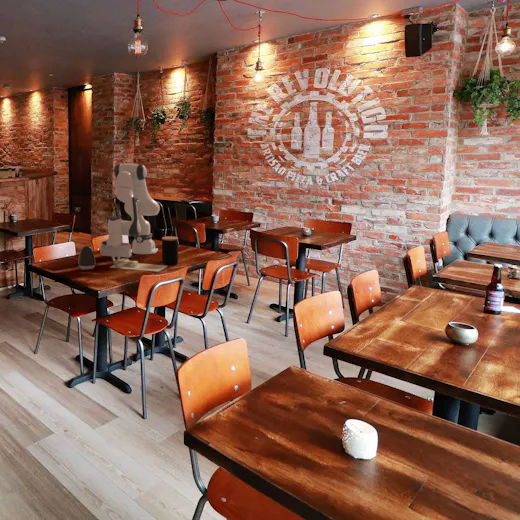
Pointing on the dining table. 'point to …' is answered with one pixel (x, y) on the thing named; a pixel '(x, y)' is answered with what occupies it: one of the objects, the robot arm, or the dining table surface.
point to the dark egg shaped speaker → (86, 258)
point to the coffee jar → (170, 250)
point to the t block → (126, 263)
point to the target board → (145, 267)
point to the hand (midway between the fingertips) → (116, 263)
